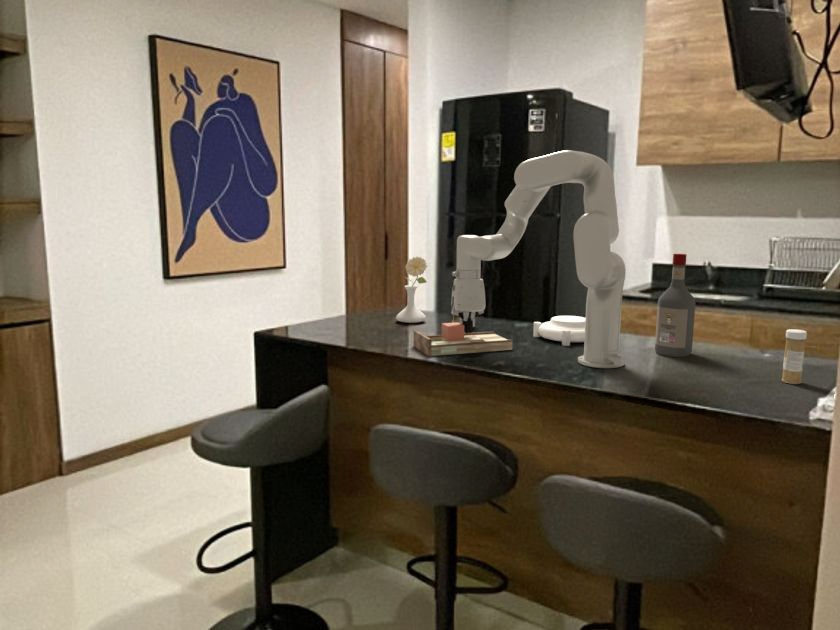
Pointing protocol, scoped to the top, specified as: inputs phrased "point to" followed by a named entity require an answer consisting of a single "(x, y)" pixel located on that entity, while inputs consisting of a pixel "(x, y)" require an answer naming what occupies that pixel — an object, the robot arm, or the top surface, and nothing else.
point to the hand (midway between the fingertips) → (467, 332)
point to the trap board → (461, 343)
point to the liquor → (675, 315)
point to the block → (452, 331)
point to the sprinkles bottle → (794, 356)
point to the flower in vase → (413, 292)
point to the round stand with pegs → (562, 329)
